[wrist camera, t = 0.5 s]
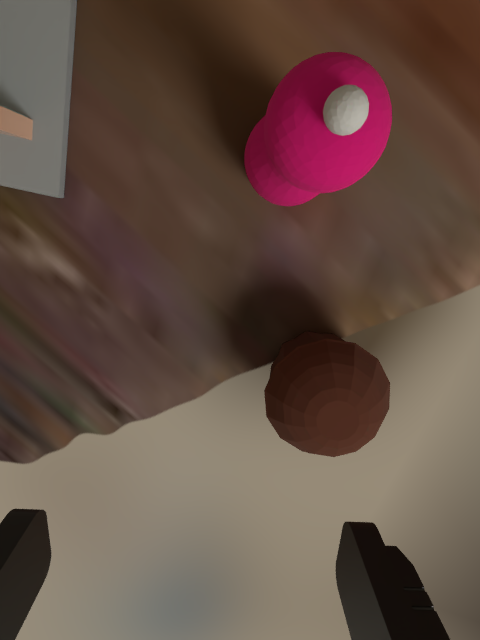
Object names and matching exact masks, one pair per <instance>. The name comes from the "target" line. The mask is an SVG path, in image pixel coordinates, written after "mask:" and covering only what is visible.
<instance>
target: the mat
mask: <svg viewBox="0 0 480 640" xmlns="http://www.w3.org/2000/svg"><path fill="white" fill-rule="evenodd" d="M76 7H77V0H0V104H1V105H3V106H5V107H7V108H10V109H12V110H14V111H16V112H19V113H21V114H23V115H25V116H27V118H29V119H32V120H33V130H32V140H28V139H23V138H19V137H14V136H10V135H6V134H1V133H0V185H2V186H6V187H11V188H16V189H20V190H25V191H29V192H34V193H39V194H43V195H48V196H53V197H57V198H64V186H65V172H66V157H67V142H68V127H69V112H70V97H71V82H72V67H73V52H74V37H75V22H76Z"/></svg>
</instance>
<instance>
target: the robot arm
mask: <svg viewBox="0 0 480 640" xmlns="http://www.w3.org/2000/svg"><path fill="white" fill-rule="evenodd" d="M50 561H51V546H50V539H49V531H48V524H47V516H46V512H45V511H44V510H33V509H13V510H11V511H10V512H9V513H8V514H7V515H6V517H5V518H4V519H3V521H2V522H1V523H0V640H15V639H16V637H17V634H18V633H19V630H20V629H21V627H22V625H23V623H24V620H25V619H26V617H27V615H28V613H29V611H30V609H31V606H32V605H33V603H34V601H35V599H36V596H37V595H38V593H39V591H40V589H41V587H42V585H43V583H44V580H45V578H46V576H47V573H48V570H49V566H50ZM336 580H337V586H338V591H339V595H340V599H341V602H342V606H343V610H344V614H345V617H346V621H347V625H348V628H349V631H350V636H351V639H352V640H450V639H449V636H448V634H447V633H446V630H445V628H444V626H443V624H442V622H441V620H440V618H439V616H438V614H437V612H436V611H434V608H433V607H434V606H433V604H432V602H431V600H430V598H429V596H428V594H427V592H425V590H424V586H423V584H422V582H421V580H420V578H419V576H418V574H417V572H416V570H415V568H414V566H413V564H412V563H411V562H410V561H409V560H408V559H407V558H406V557H405V555H404V554H403V553H402V552H401V551H400V550H399V549H398V548H397V547H396V546H385V544H384V542H383V540H382V538H381V535H380V533H379V531H378V529H377V527H376V525H375V524H374V523H368V522H366V523H365V522H345V523H344V525H343V529H342V534H341V539H340V544H339V550H338V555H337V560H336Z"/></svg>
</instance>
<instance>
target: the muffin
mask: <svg viewBox="0 0 480 640" xmlns="http://www.w3.org/2000/svg"><path fill="white" fill-rule="evenodd" d="M389 396H390V382H389V380H388V378H387V376H386V374H385V372H384V370H383V368H382V366H381V364H380V362H379V360H378V359H377V358H375V357H374V356H373V355H371V354H370V353H369V352H367V351H366V350H364V349H363V348H361V347H360V346H359V345H357V344H356V343H351V342H346V341H344V340H343V339H341V338H339V337H337V336H336V335H334V334H332V333H314V332H309V331H305V332H304V333H302V334H301V335H299V336H298V337H296V338H294V339H292V340H290V341H287V342H285V343H283V344H282V347H281V349H280V352H279V354H278V356H277V358H276V359H275V361H274V362H273V364H272V366H271V373H270V379H269V381H268V384H267V386H266V388H265V403H266V415H267V418H268V419H269V421H270V423H271V424H272V426H273V427H274V429H275V430H276V432H277V433H278V435H279V437H280V438H281V439H283V440H285V441H286V442H288V443H290V444H291V445H293V446H295V447H296V448H298V449H299V450H301V451H304V452H308V453H312V454H318V455H325V456H331V457H335V456H340V455H344V454H348V453H352V452H356V451H357V450H359V449H360V448H361V447H362V446H364V445H365V444H366V443H368V442H369V441H370V440H372V439H373V438H374V437H375V436H376V434H377V432H378V430H379V428H380V426H381V424H382V422H383V420H384V418H385V416H386V414H387V412H388V410H389Z"/></svg>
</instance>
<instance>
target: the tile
mask: <svg viewBox="0 0 480 640" xmlns="http://www.w3.org/2000/svg"><path fill="white" fill-rule="evenodd" d="M32 130H33V120H32V119H29V118H27V116H25V115H23V114H21V113H19V112H16V111H14V110H12V109H10V108H7V107H5V106H3V105H1V104H0V133H1V134H6V135H10V136H14V137H19V138H23V139H28V140H32Z"/></svg>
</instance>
